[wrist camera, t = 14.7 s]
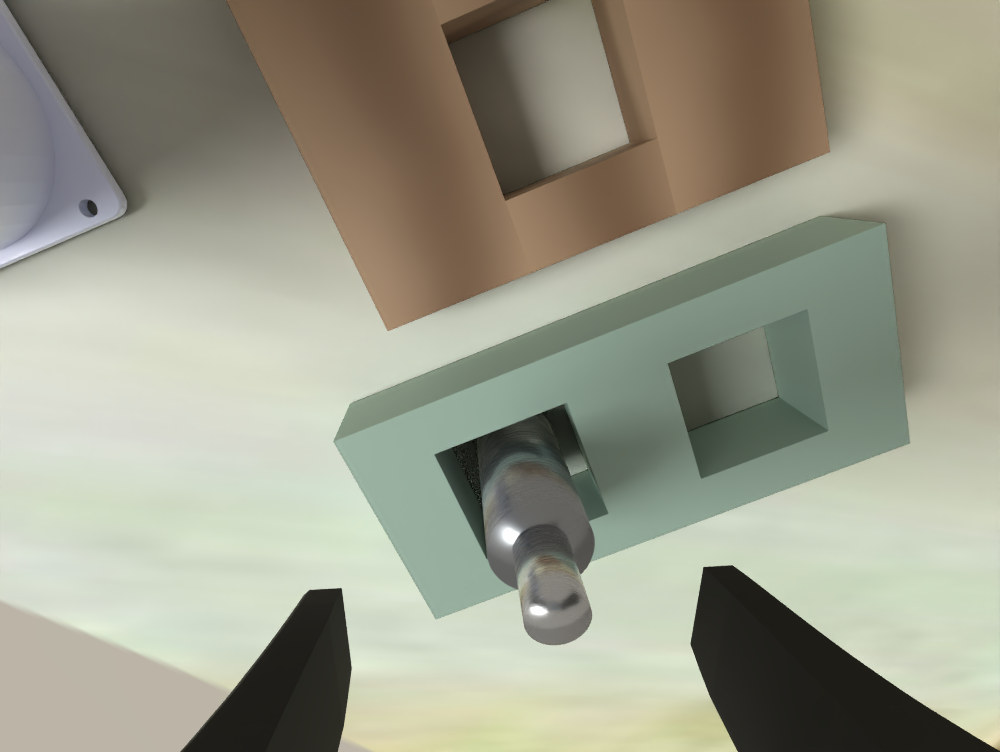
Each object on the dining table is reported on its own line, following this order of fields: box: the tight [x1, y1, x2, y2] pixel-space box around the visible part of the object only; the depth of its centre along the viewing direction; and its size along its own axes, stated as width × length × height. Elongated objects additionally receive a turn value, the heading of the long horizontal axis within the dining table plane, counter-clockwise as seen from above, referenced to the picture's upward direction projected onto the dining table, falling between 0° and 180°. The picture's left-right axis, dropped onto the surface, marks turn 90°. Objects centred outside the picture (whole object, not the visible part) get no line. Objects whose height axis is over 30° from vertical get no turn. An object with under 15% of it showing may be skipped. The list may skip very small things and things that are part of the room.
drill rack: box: [333, 216, 910, 619], centre depth 19 cm, size 18×8×3 cm, turn 111°
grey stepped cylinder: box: [477, 413, 595, 645], centre depth 17 cm, size 3×3×9 cm
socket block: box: [226, 0, 830, 331], centre depth 15 cm, size 14×12×2 cm
